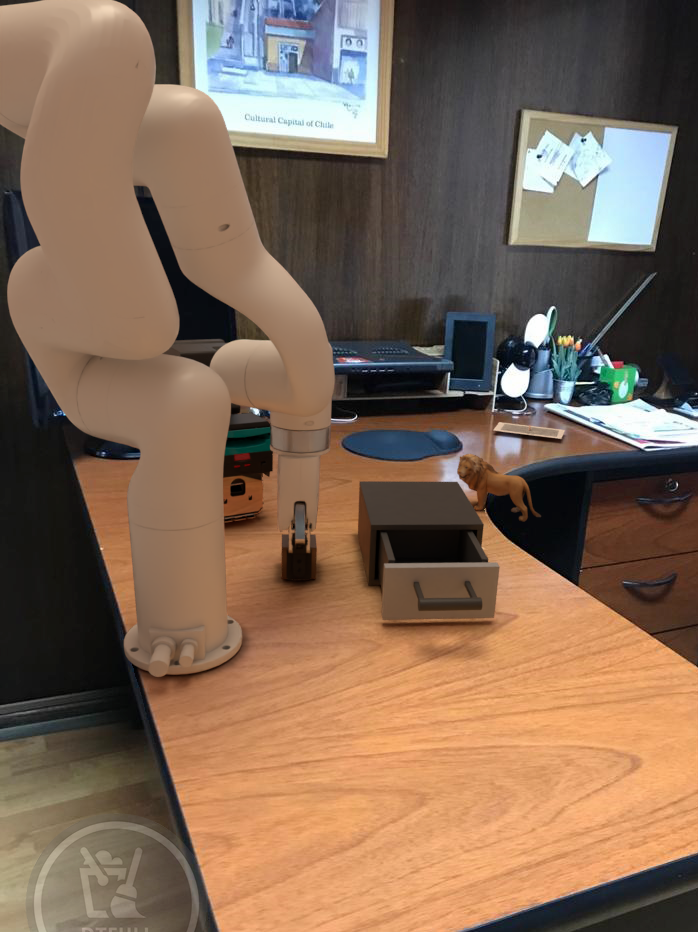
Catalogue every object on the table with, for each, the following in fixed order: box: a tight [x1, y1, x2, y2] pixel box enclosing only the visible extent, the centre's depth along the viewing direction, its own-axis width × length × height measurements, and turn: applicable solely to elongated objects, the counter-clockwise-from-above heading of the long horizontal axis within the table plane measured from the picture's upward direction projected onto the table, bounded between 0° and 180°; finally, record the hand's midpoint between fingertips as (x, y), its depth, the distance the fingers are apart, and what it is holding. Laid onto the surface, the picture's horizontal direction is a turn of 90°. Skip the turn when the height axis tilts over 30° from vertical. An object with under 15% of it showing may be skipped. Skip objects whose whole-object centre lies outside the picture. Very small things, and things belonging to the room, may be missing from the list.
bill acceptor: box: [162, 338, 274, 523], centre depth 120 cm, size 10×23×25 cm, turn 33°
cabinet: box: [357, 480, 485, 586], centre depth 107 cm, size 17×15×9 cm
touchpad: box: [493, 421, 566, 440], centre depth 173 cm, size 8×15×2 cm, turn 72°
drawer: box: [375, 530, 501, 621], centre depth 94 cm, size 21×13×7 cm, turn 7°
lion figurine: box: [456, 453, 542, 522], centre depth 126 cm, size 15×5×9 cm, turn 66°
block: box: [280, 533, 318, 580], centre depth 102 cm, size 4×4×4 cm
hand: (298, 569), depth 103 cm, fingers closed on block, 4 cm apart
